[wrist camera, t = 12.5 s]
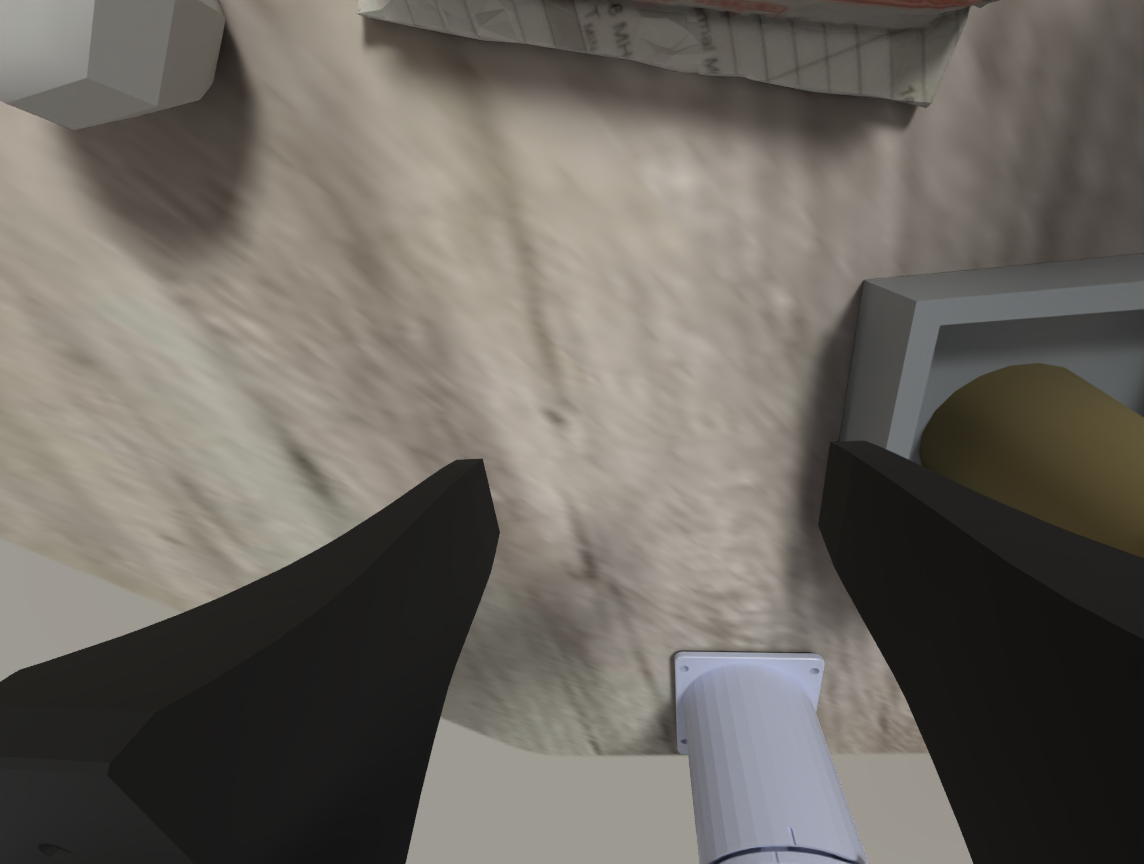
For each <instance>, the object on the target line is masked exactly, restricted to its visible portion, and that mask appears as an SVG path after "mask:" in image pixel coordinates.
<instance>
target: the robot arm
mask: <svg viewBox="0 0 1144 864" xmlns="http://www.w3.org/2000/svg"><path fill="white" fill-rule="evenodd" d="M818 525H819V528H820V531H821V533H822V536H823V539H824V542H825V544H826V547H827V550H828V552H829V555H830V557H831V560H832V562H833V565H834V567H835V570H836V571H837V573H838V575H839V577H840V579H841V581H842V583H843V585H844V586H845V588H846V590H847V592H848V594H849V595H850V597H851V599H852V601H853V603H854V605H855V606H856V608H857V610H858V612H859V614H860V615H861V617H862V619H863V621H864V623H865V624H866V626H867V628H868V630H869V631H870V633H871V635H872V637H873V639H874V640H875V642H876V644H877V646H878V648H879V649H880V651H881V653H882V655H883V657H884V658H885V660H886V662H887V664H888V665H889V667H890V669H891V671H892V673H893V675H894V677H895V679H896V681H897V682H898V684H899V686H900V688H901V690H902V692H903V694H904V696H905V698H906V700H907V703H908V705H909V707H910V710H911V712H912V714H913V717H914V719H915V721H916V723H917V726H918V728H919V730H920V733H921V735H922V737H923V740H924V742H925V744H926V746H927V749H928V751H929V753H930V756H931V758H932V760H933V763H934V765H935V768H936V770H937V773H938V775H939V778H940V780H941V783H942V785H943V787H944V790H945V792H946V795H947V797H948V800H949V802H950V805H951V807H952V810H953V812H954V815H955V817H956V819H957V822H958V824H959V827H960V829H961V832H962V835H963V837H964V840H965V843H966V845H967V848H968V851H969V853H970V856H971V858H972V861H973V864H1144V558H1142V557H1139V556H1136V555H1133V554H1131V553H1128V552H1125V551H1122V550H1120V549H1117V548H1114V547H1111V546H1109V545H1106V544H1103V543H1100V542H1097V541H1095V540H1092V539H1089V538H1086V537H1084V536H1081V535H1078V534H1076V533H1073V532H1070V531H1068V530H1065V529H1063V528H1060V527H1058V526H1055V525H1053V524H1050V523H1048V522H1045V521H1043V520H1040V519H1038V518H1036V517H1033V516H1031V515H1029V514H1026V513H1024V512H1022V511H1019V510H1017V509H1014V508H1012V507H1010V506H1007V505H1005V504H1003V503H1000V502H998V501H996V500H994V499H991V498H989V497H987V496H985V495H982V494H980V493H978V492H976V491H974V490H972V489H969V488H967V487H965V486H963V485H961V484H959V483H957V482H954V481H952V480H950V479H948V478H946V477H944V476H942V475H940V474H938V473H935V472H933V471H931V470H929V469H927V468H925V467H923V466H921V465H919V464H917V463H915V462H913V461H910V460H908V459H906V458H904V457H902V456H900V455H898V454H896V453H893V452H891V451H889V450H887V449H885V448H882V447H880V446H878V445H875V444H873V443H870V442H867V441H864V440H861V441H840V442H830V449H829V455H828V462H827V469H826V476H825V483H824V490H823V497H822V504H821V510H820V517H819V524H818ZM499 534H500V531H499V527H498V523H497V518H496V514H495V510H494V505H493V501H492V497H491V493H490V488H489V484H488V480H487V475H486V471H485V467H484V463H483V459H465V460H456V461H454V462H452V463H450V464H448V465H447V466H445V467H443V468H442V469H440V470H439V471H437V472H436V473H434V474H433V475H431V476H430V477H429V478H427V479H426V480H424V481H423V482H421V483H420V484H419V485H417V486H416V487H414V488H413V489H411V490H410V491H408V492H407V493H406V494H404V495H403V496H401V497H400V498H398V499H397V500H396V501H394V502H393V503H391V504H390V505H388V506H387V507H385V508H384V509H382V510H381V511H379V512H378V513H376V514H375V515H373V516H371V517H370V518H368V519H367V520H365V521H364V522H362V523H361V524H359V525H357V526H356V527H354V528H353V529H351V530H350V531H348V532H347V533H345V534H343V535H342V536H340V537H338V538H337V539H335V540H333V541H332V542H330V543H328V544H326V545H325V546H323V547H321V548H320V549H318V550H316V551H314V552H312V553H310V554H308V555H307V556H305V557H303V558H301V559H299V560H297V561H295V562H294V563H292V564H290V565H288V566H286V567H284V568H282V569H280V570H278V571H276V572H274V573H272V574H269V575H267V576H265V577H263V578H261V579H259V580H257V581H254V582H252V583H250V584H248V585H246V586H244V587H242V588H239V589H237V590H235V591H233V592H231V593H229V594H227V595H224V596H222V597H220V598H218V599H215V600H213V601H211V602H208V603H206V604H203V605H201V606H198V607H196V608H194V609H191V610H189V611H186V612H184V613H181V614H179V615H176V616H174V617H171V618H168V619H166V620H164V621H161V622H158V623H156V624H153V625H150V626H148V627H145V628H142V629H140V630H137V631H134V632H131V633H129V634H126V635H124V636H121V637H118V638H115V639H112V640H109V641H106V642H103V643H100V644H97V645H94V646H91V647H88V648H85V649H82V650H79V651H76V652H73V653H70V654H67V655H64V656H61V657H58V658H55V659H52V660H49V661H46V662H43V663H40V664H37V665H34V666H30V667H27V668H24V669H21V670H19V671H17V672H15V673H13V674H12V675H10V676H9V677H7V678H6V679H4V680H2V681H1V682H0V864H405V863H406V859H407V854H408V850H409V845H410V841H411V836H412V832H413V827H414V823H415V817H416V814H417V809H418V804H419V800H420V795H421V791H422V787H423V783H424V779H425V775H426V770H427V767H428V763H429V759H430V755H431V750H432V746H433V742H434V738H435V734H436V731H437V727H438V723H439V720H440V716H441V712H442V709H443V705H444V701H445V698H446V694H447V690H448V687H449V684H450V681H451V678H452V675H453V672H454V669H455V666H456V663H457V660H458V658H459V655H460V653H461V650H462V647H463V645H464V642H465V639H466V637H467V634H468V632H469V629H470V626H471V624H472V621H473V619H474V616H475V613H476V611H477V608H478V606H479V603H480V600H481V598H482V595H483V592H484V589H485V587H486V584H487V581H488V579H489V576H490V573H491V569H492V565H493V561H494V557H495V553H496V548H497V543H498V538H499ZM674 660H675V694H676V728H677V750H678V752H679V753H681V754H683V755H688V756H689V766H690V775H691V785H692V795H693V805H694V814H695V824H696V834H697V843H698V853H699V861H700V862H699V863H700V864H869V863H868V860H867V857H866V854H865V851H864V848H863V846H862V843H861V840H860V837H859V835H858V831H857V829H856V826H855V823H854V820H853V817H852V814H851V812H850V809H849V806H848V803H847V800H846V797H845V795H844V792H843V789H842V786H841V783H840V780H839V778H838V775H837V772H836V769H835V766H834V764H833V761H832V758H831V755H830V752H829V749H828V746H827V743H826V741H825V738H824V735H823V732H822V729H821V726H820V724H819V721H818V718H817V715H816V710H817V704H818V699H819V693H820V688H821V683H822V677H823V672H824V666H825V663H824V660H823V658H822V656H821V655H819V654H814V653H751V652H679V653H677V654H676V655H675V657H674Z"/></svg>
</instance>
